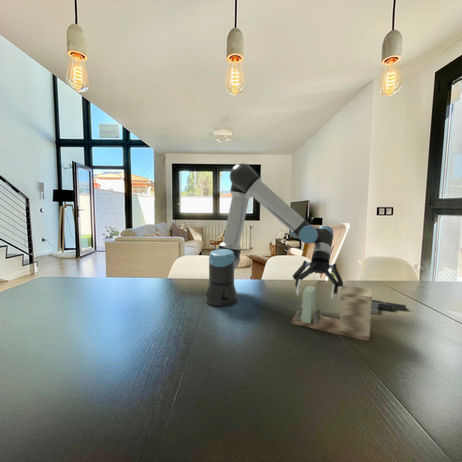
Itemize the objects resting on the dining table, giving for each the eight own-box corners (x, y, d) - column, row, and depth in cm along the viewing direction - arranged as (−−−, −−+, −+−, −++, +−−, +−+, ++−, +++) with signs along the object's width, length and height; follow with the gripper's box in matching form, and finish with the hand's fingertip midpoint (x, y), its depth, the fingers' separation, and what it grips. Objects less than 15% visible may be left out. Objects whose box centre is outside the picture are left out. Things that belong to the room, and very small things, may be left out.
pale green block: (298, 321, 88) (299, 291, 87) (303, 312, 96) (304, 285, 95) (310, 323, 86) (311, 293, 85) (314, 314, 94) (315, 287, 93)
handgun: (415, 316, 94) (404, 303, 105) (365, 308, 100) (360, 296, 111) (414, 322, 95) (403, 309, 106) (364, 314, 100) (359, 302, 111)
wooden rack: (292, 323, 89) (293, 285, 88) (297, 314, 97) (298, 279, 96) (369, 341, 77) (371, 297, 76) (368, 329, 85) (370, 289, 84)
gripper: (351, 262, 105) (348, 307, 94) (295, 257, 118) (285, 295, 106) (351, 252, 100) (347, 298, 89) (292, 247, 113) (282, 287, 101)
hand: (313, 297), depth 97 cm, fingers open, 13 cm apart
